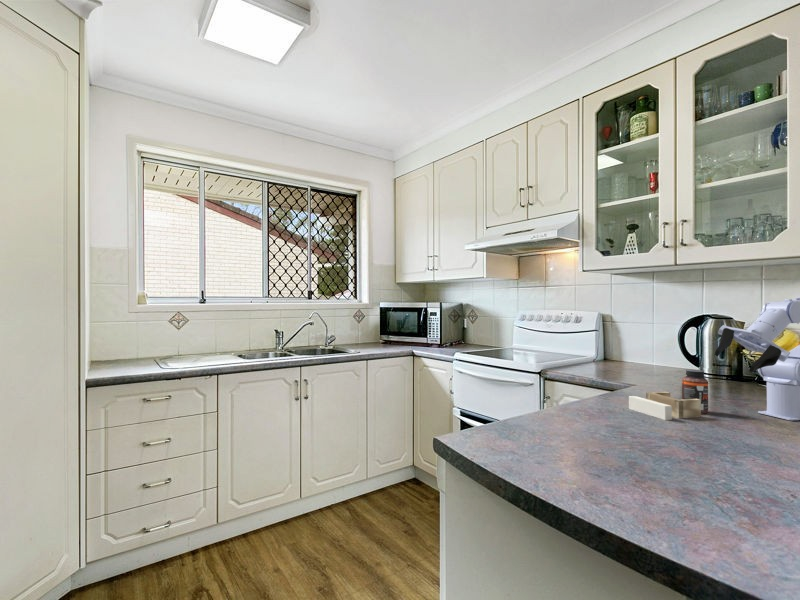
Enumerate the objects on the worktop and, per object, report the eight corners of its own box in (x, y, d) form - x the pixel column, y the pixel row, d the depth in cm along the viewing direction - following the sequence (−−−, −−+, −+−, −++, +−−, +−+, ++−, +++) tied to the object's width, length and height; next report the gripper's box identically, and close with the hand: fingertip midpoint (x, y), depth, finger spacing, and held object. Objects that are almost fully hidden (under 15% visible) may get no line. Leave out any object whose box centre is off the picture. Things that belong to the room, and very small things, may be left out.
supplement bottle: (708, 415, 109) (708, 372, 109) (681, 411, 112) (681, 370, 112) (708, 411, 113) (708, 370, 114) (682, 407, 117) (682, 368, 117)
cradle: (666, 407, 117) (666, 391, 117) (700, 417, 107) (700, 399, 107) (646, 408, 115) (646, 392, 116) (678, 418, 105) (678, 400, 105)
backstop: (634, 408, 116) (634, 395, 116) (671, 419, 104) (671, 405, 104) (628, 408, 115) (628, 396, 115) (665, 420, 103) (665, 406, 104)
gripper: (735, 307, 109) (705, 335, 105) (804, 333, 98) (773, 366, 94) (729, 326, 113) (700, 354, 109) (794, 353, 102) (765, 384, 99)
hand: (733, 360), depth 102 cm, fingers open, 7 cm apart
